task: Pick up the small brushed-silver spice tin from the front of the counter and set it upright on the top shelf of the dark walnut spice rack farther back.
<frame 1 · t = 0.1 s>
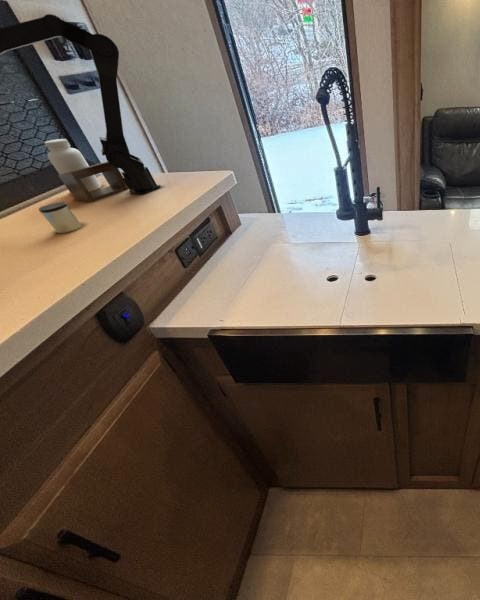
pill bottle: (88, 190, 106), on the countertop
spice rack: (103, 193, 102), on the countertop
spice tin: (69, 228, 81), on the countertop
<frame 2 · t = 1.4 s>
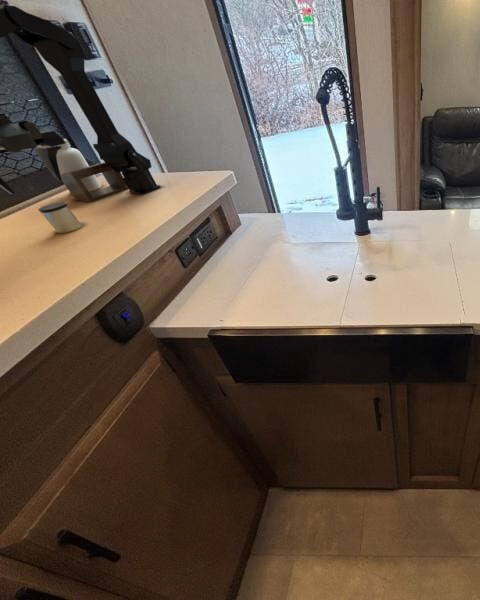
hand: (37, 186, 74), 11 cm above the countertop, tool pointing down, fingers open, 9 cm apart
nothing on the countertop moved.
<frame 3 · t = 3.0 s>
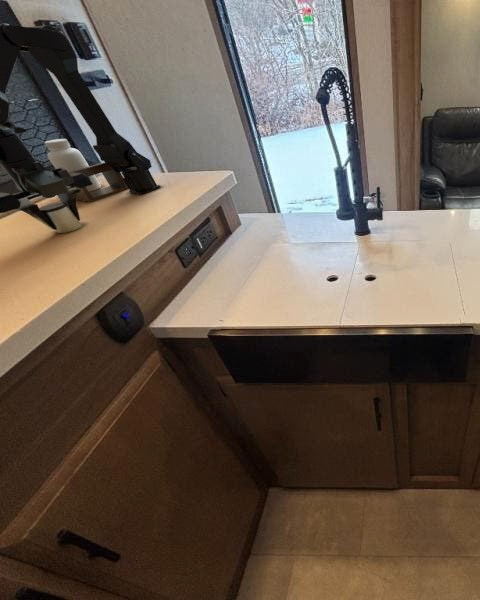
hand: (66, 225, 80), 1 cm above the countertop, tool pointing down, fingers closed on spice tin, 5 cm apart
spice tin: (69, 228, 81), on the countertop, touching gripper
everything else where it was.
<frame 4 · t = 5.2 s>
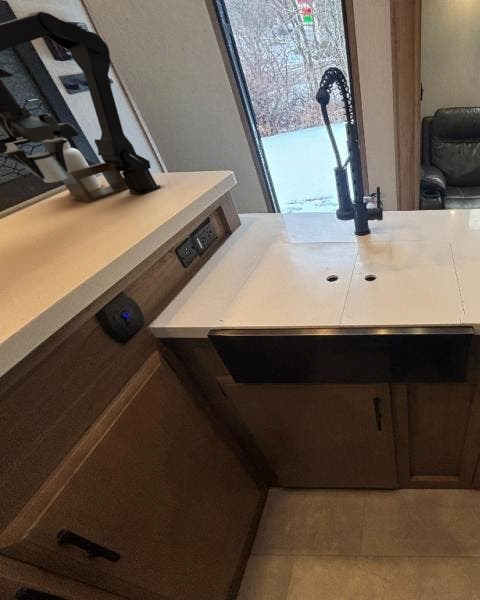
hand: (54, 175, 81), 11 cm above the countertop, tool pointing down, fingers closed on spice tin, 5 cm apart
spice tin: (57, 179, 82), point 10 cm above the countertop, touching gripper
everything else where it was.
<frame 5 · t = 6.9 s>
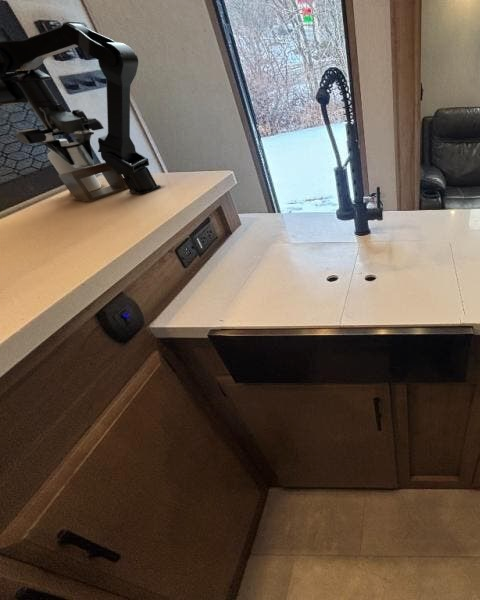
hand: (82, 162, 96), 10 cm above the countertop, tool pointing down, fingers closed on spice tin, 5 cm apart
spice tin: (84, 165, 96), point 9 cm above the countertop, touching gripper
everything else where it was.
when the fingers open (8 cm above the countertop, at t = 7.7 s): spice tin stays where it is, resting on spice rack.
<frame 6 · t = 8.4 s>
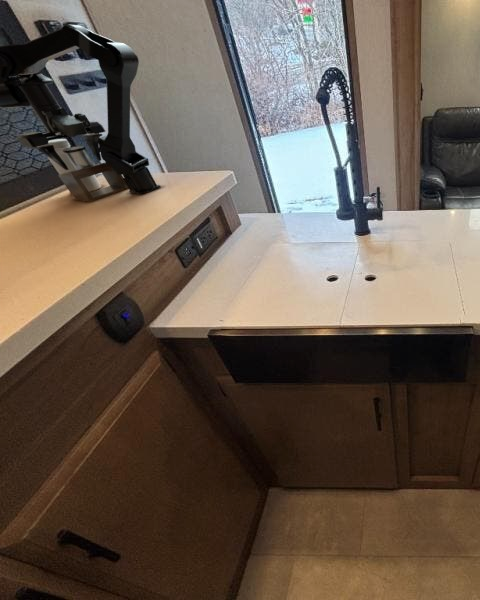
hand: (84, 165, 96), 9 cm above the countertop, tool pointing down, fingers open, 9 cm apart
spice tin: (87, 169, 97), point 7 cm above the countertop, touching spice rack
everything else where it was.
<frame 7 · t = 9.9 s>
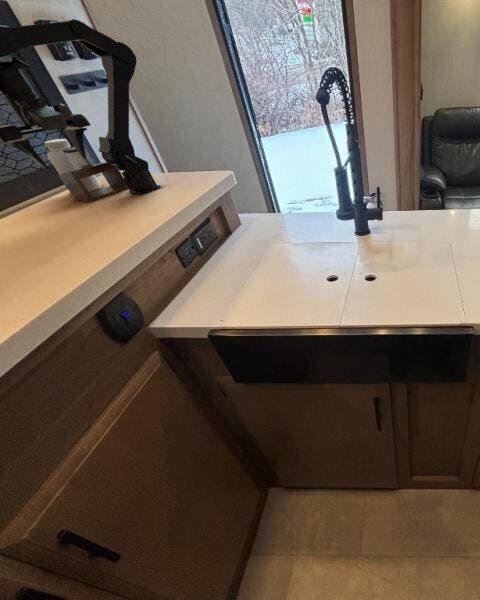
hand: (66, 163, 85), 12 cm above the countertop, tool pointing down, fingers open, 9 cm apart
nothing on the countertop moved.
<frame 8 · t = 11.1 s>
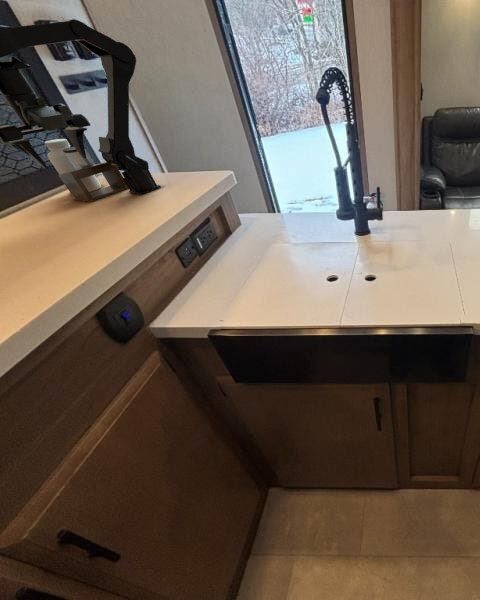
hand: (66, 163, 85), 12 cm above the countertop, tool pointing down, fingers open, 9 cm apart
nothing on the countertop moved.
at the end: spice tin inside the target area on the spice rack (0.3 cm from its centre), point 7.4 cm above the spice rack's base; spice tin tilted 0°; the gripper is holding nothing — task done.
